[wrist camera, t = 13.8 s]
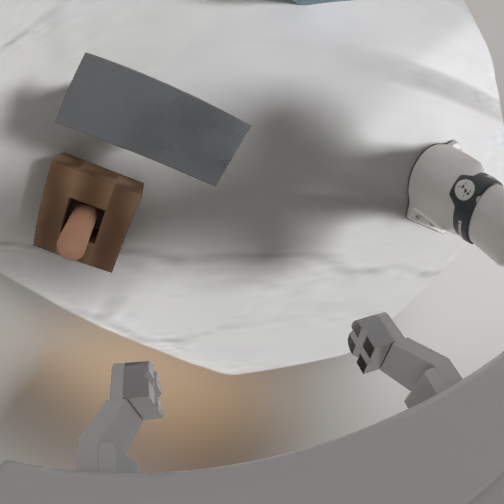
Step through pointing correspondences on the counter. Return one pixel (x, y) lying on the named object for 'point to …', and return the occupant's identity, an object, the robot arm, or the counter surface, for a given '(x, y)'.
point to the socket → (95, 194)
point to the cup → (314, 1)
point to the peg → (77, 231)
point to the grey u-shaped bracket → (151, 119)
